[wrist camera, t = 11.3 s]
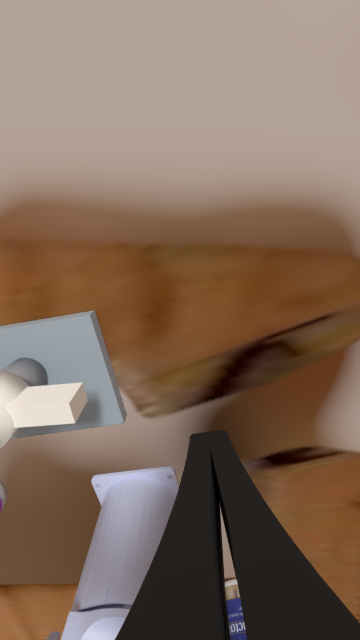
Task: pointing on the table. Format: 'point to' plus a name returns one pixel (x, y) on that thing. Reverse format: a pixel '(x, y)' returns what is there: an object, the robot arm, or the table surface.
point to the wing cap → (37, 404)
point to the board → (64, 366)
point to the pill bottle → (234, 610)
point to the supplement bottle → (2, 496)
